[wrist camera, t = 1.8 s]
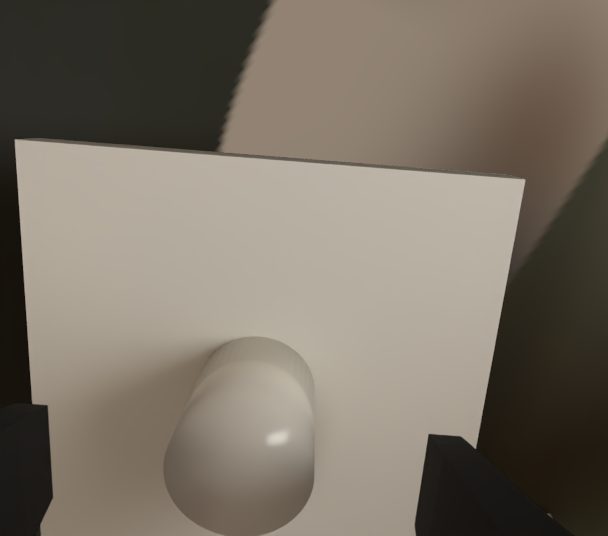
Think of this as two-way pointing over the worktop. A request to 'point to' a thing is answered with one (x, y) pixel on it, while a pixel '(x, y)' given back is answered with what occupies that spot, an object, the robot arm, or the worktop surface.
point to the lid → (253, 334)
